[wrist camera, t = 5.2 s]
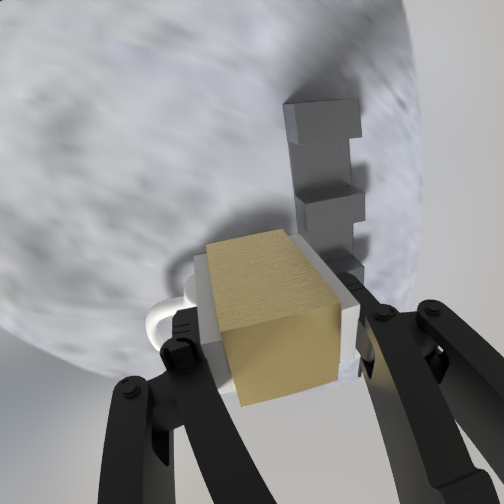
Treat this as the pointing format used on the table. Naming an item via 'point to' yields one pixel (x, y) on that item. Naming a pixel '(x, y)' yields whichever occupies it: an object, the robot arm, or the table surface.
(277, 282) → the block
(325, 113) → the rail
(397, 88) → the table surface
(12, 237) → the table surface
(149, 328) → the mug
